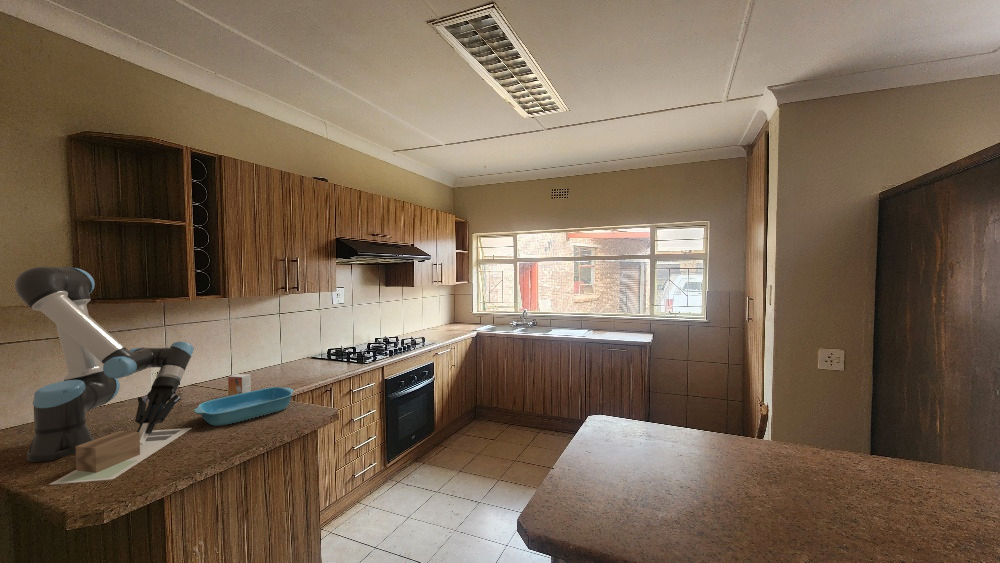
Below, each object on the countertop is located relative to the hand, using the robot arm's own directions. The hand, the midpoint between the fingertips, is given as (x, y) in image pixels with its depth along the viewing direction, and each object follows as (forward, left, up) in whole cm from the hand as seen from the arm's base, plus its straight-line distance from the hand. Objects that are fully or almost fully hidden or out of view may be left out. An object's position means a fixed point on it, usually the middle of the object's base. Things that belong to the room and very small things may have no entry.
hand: (138, 443), depth 130 cm
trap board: (-3, 0, -3) cm, 4 cm away
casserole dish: (+19, +34, -4) cm, 39 cm away
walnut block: (-4, -6, -3) cm, 8 cm away
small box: (+3, +61, -4) cm, 62 cm away
